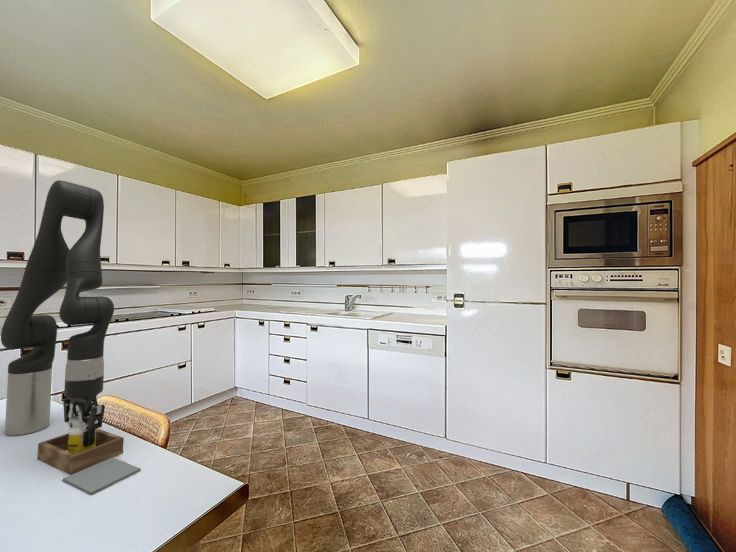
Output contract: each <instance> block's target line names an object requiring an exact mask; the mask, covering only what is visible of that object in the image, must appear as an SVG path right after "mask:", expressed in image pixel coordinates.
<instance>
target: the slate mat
mask: <svg viewBox="0 0 736 552" xmlns="http://www.w3.org/2000/svg"><path fill="white" fill-rule="evenodd" d="M139 472H141V468H140V467H138V466H135V465H133V464H130V463H129V462H125V461H123V460H120V459H118V458H115V457H112V458H110V459H107V460H105V461H103V462H100V463H98V464H96V465H93V466H91V467H89V468H86V469H84V470H81V471H79V472H77V473H74V474H72V475H67V476H66V477H63V478H62V482H64V483H66V484H68V485H69V486H72V487H73V488H75V489H77V490H79V491H81V492H83V493H86V494H87V495H89V496H93V495H95V494H97V493H100V492H101V491H103V490H105V489H107V488H110V487H111V486H114V485H115V484H117V483H119V482H121V481H123V480H126V479H127V478H129V477H132V476H134V475H135V474H138V473H139Z"/></svg>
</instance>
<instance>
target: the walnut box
mask: <svg viewBox="0 0 736 552" xmlns="http://www.w3.org/2000/svg"><path fill="white" fill-rule="evenodd" d="M124 441H125V439H124V437H123V436H120V435H118V434H114V433H111V432H108V431H105V430H103V429H100V428H97V429H96V443H95V447H93V448H91V449H88V450H86V451H83V452H80V453H78V454H75V455H74V454H72V453H70V452H67V448H68V433H64V434H62V435H59V436H56V437H53V438H50V439H46V440H44V441H41V442H38V445H37V459H36V460H37V461H40V462H41V463H44V464H46V465H48V466H50V467H53V468H54V469H57V470H59V471H61V472H63V473H65V474H67V475H68V476H70V475H72V474H74V473H77V472H79V471H81V470H84V469H86V468H89V467H91V466H93V465H96V464H98V463H100V462H103V461H105V460H107V459H110V458H112V457H113V458H115V457H118V456H120V455H122V453H123V454H124Z"/></svg>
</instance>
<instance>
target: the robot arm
mask: <svg viewBox="0 0 736 552" xmlns="http://www.w3.org/2000/svg"><path fill="white" fill-rule="evenodd" d="M104 203H105V202H104V197H103V195H102V193H101V192H100V191H99V190H98V189H96V188H92V187H88V186H84V185H82V184H77V183H73V182H70V181H66V180H60V179H59V180H55V181H54V182H53V183H52V184H51V185H50V187H49V190H48V193H47V195H46V200H45V204H44V208H43V212H42V215H41V216H42V217H41V221H40V225H39V228H38V232H37V236H36V238H35V241H34V244H33V246H32V249H31V252H30V255H29V257H28V260H27V262H26V266H25V269H24V273H23V276H22V279H21V282H20V285H19V288H18V292H17V294H16V297H15V300H14V301H13V303H12V305H11V307H10V310H9V311H8V314H7V316H6V318H5V319H4V322H3V325H2V328H1V331H0V341H1V344H2V346H3V348H6V349H9V350H18V349H28V348H32V349H31V351H29V352H28V353H27V354H25V355H23V356H21V357H19V358H17V359H14V360H12V361H11V362H10V363H8V364H7V365H8V366H7V386H6V400H5V401H6V402H5V403H6V404H5V407H6V408H5V420H4V421H5V422H4V424H5V425H4V434H5V435H6V436H21V435H27V434H28V435H29V434H31V433H36V432H39V431H42V430H44V429H47V428H48V427H49V426H50V424H51V423H50V421H51V420H50V419H51V403H52V402H51V401H52V380H53V379H52V378H53V363H54V359H55V355H56V353H55V352H56V345H57V344H56V342H57V337H58V325H57V321H56V319H55V318H54V317H53V315H49V314H39V315H38V314H37V315H34V313H35V312H36V310H37V309H38V308H39V307H40V306H41V305H42V304H43V303H44V302H46V301H47V300H48V299H50V298H51V297H52V296H54V295H56V293H58V292H59V291H60V290H61V289H62V288H64V286H65V285H66V288H65V292H64V297H63V300H62V302H61V305H60V308H59V313H58V317H59V318H60V320H61V322H62V323H63V324H66V325H67V326H81V325H84V326H85V325H92V327H91V328H90V329H89V330H86V331H85V332H82V333H78V334H73V335H72V336H70V337H69V338H68V340H67V353H66V355H67V356H66V359H67V360H66V365H65V371H64V373H65V374H64V389H63V390H64V392H63V394H64V395H63V396H64V397H65V398H64V399H63V401H62V403H63V417H64V419H63V420H64V422H65V423H67V425H68V427H69V429H70V428H71V427H73V426H72V419H73V418H75V417H77V416H79V421H80V423H82V424H83V430H84V432H83V446H84V447H87V446H90V445H92V444H94V443H95V429H100V428H102V426H103V422H104V421H103V420H104V416H105V415H104V414H105V409H106V405H105V404H100V405H99V404H98V397H97V396H98V395H99V394H101V393H103V391H104V378H105V377H104V375H105V373H104V372H105V361H104V349H105V347H104V346H105V338H106V335H107V331H108V329H109V325H110V323H111V321H112V318H113V315H114V312H115V304H114V302H113V300H112V299H111V298H109V297H107V296H103V295H102V296H80V293H83V292H88V291H93V290H96V289H99V288H100V287H101V286H102V285H103V271H102V262H101V243H102V235H103V227H104V226H103V225H104V212H105V211H104V209H105V204H104ZM64 217H68V218H73V219H79V220H82V221H84V222H85V229H84V231H83V233H82V234H81V236H80V237H79V238H78V240H77V241H76V242H75V243H74V244H73V245H72V247H71V248H70V247H69V246H68V243H66V240H65V238H64V235H63V233H62V223H63V221H62V220H63V218H64ZM87 416H90V417H89V418H84V417H87ZM88 421H89V424H88V423H87V422H88Z"/></svg>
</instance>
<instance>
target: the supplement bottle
mask: <svg viewBox="0 0 736 552" xmlns="http://www.w3.org/2000/svg"><path fill="white" fill-rule="evenodd" d="M89 417H90V416H87V417H84V418H89ZM87 423H88V424H89V421H88V422H87ZM72 426H73V427H71V428H70V427H69V429H68V431H67V434H68V448H67V452H70V453H72V454H74V455H75V454H78V453H80V452H83V451H86V450H88V449H91V448H93V447H96V446H95V443H96V429H95V443H94V444H92V445H90V446H87V447H84V446H83V432H84V430H83V424H82V423H80V421H79V416H77V417H75V418H73V419H72Z"/></svg>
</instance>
